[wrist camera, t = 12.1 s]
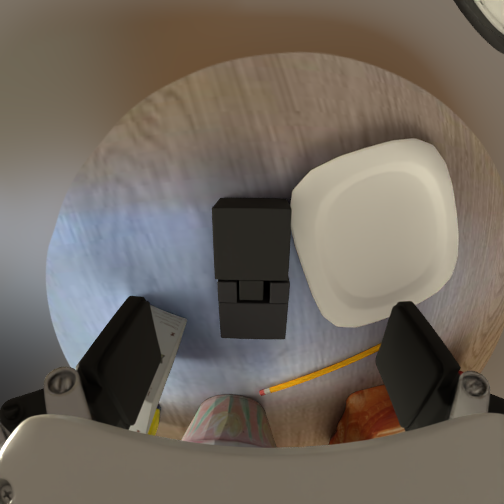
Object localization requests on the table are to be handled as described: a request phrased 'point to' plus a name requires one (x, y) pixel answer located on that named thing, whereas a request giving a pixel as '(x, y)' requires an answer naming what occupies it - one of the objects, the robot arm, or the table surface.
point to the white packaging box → (169, 341)
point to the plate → (375, 230)
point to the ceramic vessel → (367, 417)
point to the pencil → (321, 371)
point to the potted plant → (230, 423)
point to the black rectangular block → (251, 242)
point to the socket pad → (253, 311)
